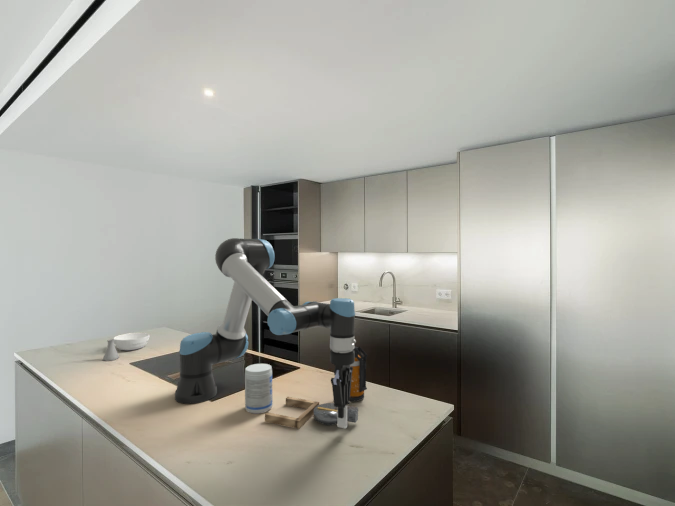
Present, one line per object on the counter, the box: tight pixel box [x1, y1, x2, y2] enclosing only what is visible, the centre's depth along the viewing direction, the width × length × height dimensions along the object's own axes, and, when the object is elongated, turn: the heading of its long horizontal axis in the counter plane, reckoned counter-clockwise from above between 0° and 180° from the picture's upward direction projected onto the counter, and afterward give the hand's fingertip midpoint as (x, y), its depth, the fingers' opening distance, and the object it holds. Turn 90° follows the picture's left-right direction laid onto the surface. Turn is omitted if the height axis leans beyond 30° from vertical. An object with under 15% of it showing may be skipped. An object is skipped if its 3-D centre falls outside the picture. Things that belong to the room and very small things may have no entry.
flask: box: [102, 338, 120, 362], centre depth 182 cm, size 7×7×10 cm
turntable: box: [313, 402, 359, 425], centre depth 115 cm, size 15×11×4 cm
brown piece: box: [264, 396, 320, 430], centre depth 120 cm, size 13×15×2 cm
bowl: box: [112, 332, 151, 351], centre depth 202 cm, size 18×18×7 cm
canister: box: [348, 346, 368, 402], centre depth 133 cm, size 9×11×20 cm
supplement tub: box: [244, 363, 273, 414], centre depth 125 cm, size 10×10×15 cm
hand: (342, 426), depth 107 cm, fingers closed
